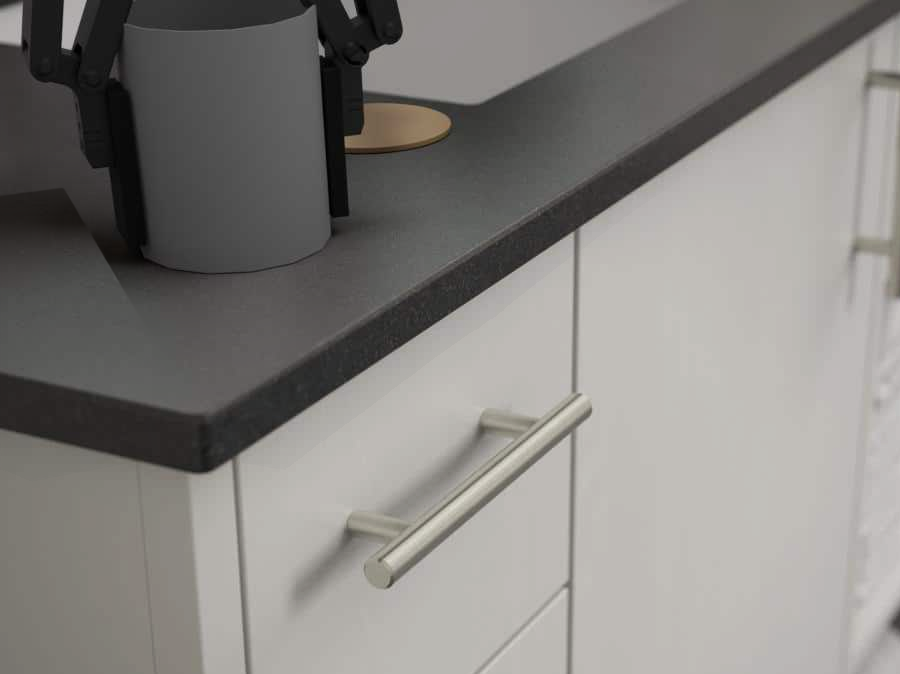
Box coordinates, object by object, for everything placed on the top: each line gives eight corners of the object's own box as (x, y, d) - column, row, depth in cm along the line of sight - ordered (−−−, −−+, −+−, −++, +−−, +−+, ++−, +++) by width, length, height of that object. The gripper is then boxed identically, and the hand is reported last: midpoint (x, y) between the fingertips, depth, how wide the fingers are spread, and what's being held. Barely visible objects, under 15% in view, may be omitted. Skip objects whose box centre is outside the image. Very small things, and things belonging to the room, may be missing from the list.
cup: (102, 259, 70) (69, 23, 66) (197, 201, 77) (173, -17, 72) (278, 282, 68) (258, 37, 63) (360, 219, 75) (348, -6, 70)
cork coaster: (316, 161, 83) (316, 155, 82) (270, 119, 90) (270, 114, 89) (475, 140, 85) (475, 135, 85) (418, 101, 92) (418, 96, 92)
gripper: (-110, -352, 55) (-1, 286, 66) (477, -365, 62) (488, 214, 73) (-126, -355, 61) (-24, 230, 72) (410, -366, 68) (429, 168, 79)
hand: (233, 221), depth 72 cm, fingers closed on cup, 8 cm apart
